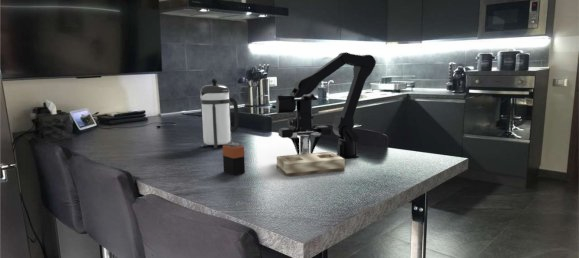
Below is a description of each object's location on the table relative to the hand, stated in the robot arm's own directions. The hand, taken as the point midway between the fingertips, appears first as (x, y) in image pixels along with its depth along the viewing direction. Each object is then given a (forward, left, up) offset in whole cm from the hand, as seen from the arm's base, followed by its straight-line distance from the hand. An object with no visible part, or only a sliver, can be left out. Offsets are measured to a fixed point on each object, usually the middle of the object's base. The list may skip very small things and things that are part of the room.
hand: (304, 154), depth 148 cm
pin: (0, 0, -2) cm, 2 cm away
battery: (+28, +9, -2) cm, 29 cm away
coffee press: (+27, -40, -2) cm, 48 cm away
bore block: (+3, +14, -2) cm, 14 cm away
